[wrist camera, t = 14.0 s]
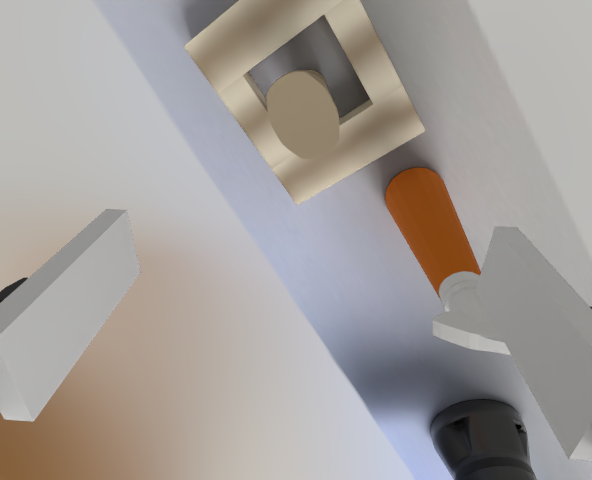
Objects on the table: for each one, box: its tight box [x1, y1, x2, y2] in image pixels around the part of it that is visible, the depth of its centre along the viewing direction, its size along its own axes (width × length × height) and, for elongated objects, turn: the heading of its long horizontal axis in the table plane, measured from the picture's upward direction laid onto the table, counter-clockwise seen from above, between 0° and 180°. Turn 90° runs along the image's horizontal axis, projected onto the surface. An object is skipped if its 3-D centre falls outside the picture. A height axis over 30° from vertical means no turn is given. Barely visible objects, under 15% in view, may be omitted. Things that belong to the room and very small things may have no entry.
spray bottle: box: [385, 167, 511, 355], centre depth 36 cm, size 7×11×26 cm, turn 99°
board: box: [184, 0, 425, 205], centre depth 41 cm, size 20×16×3 cm
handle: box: [266, 69, 339, 159], centre depth 36 cm, size 5×6×15 cm
